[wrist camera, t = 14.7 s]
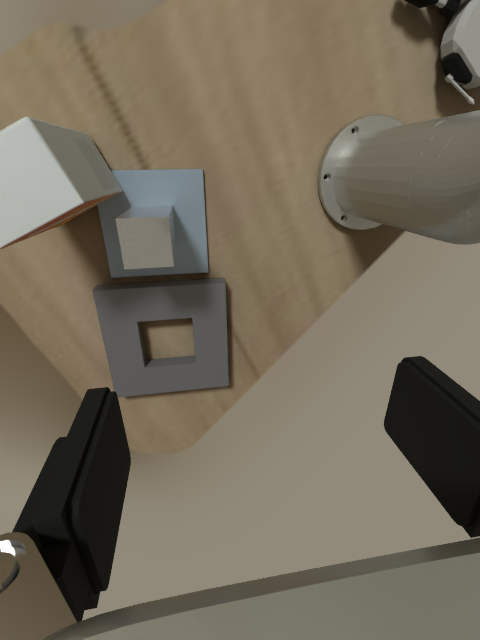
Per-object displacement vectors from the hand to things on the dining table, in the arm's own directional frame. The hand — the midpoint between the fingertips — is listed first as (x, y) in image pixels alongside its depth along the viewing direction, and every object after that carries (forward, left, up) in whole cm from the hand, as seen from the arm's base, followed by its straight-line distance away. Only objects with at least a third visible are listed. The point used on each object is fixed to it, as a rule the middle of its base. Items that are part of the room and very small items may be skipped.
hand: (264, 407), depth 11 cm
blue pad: (+6, -1, -32) cm, 33 cm away
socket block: (+6, +14, -32) cm, 36 cm away
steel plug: (+6, -1, -32) cm, 32 cm away
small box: (+14, -6, -32) cm, 36 cm away
